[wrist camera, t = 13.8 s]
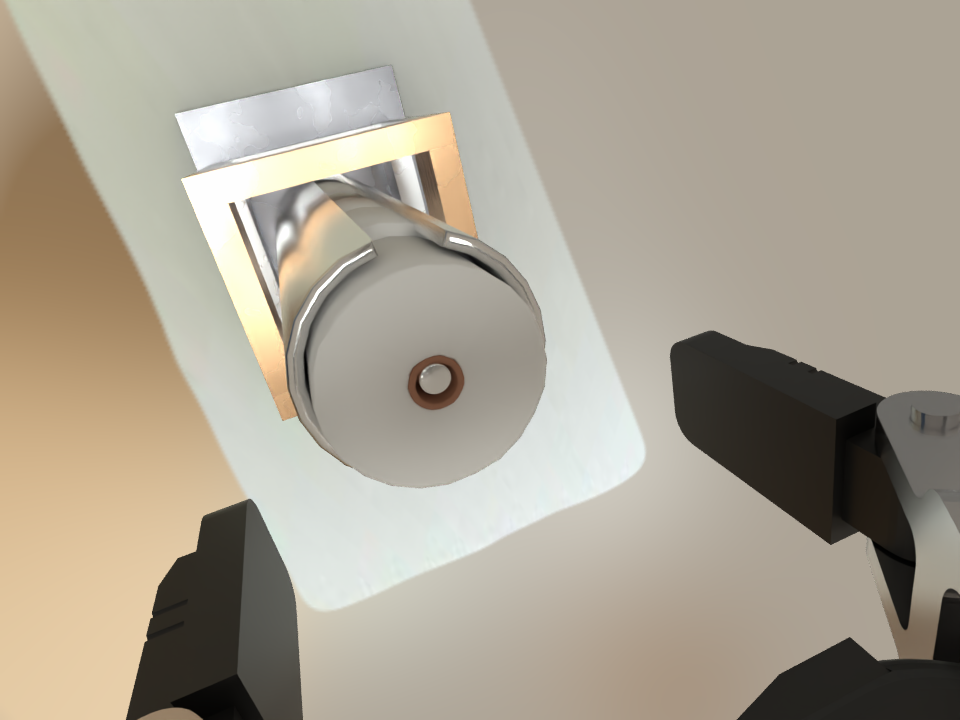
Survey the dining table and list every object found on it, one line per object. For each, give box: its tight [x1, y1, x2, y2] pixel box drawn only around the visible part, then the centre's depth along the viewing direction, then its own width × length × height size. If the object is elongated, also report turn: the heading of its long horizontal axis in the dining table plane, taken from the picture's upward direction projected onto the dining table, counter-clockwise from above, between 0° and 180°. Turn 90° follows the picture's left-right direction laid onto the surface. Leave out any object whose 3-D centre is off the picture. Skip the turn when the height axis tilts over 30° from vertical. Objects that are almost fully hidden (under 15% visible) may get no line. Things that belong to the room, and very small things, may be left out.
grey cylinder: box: [275, 174, 547, 488], centre depth 25 cm, size 6×6×25 cm
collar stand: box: [175, 65, 478, 421], centre depth 31 cm, size 16×12×14 cm
